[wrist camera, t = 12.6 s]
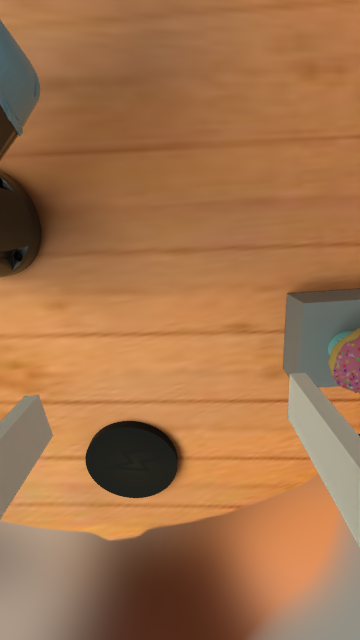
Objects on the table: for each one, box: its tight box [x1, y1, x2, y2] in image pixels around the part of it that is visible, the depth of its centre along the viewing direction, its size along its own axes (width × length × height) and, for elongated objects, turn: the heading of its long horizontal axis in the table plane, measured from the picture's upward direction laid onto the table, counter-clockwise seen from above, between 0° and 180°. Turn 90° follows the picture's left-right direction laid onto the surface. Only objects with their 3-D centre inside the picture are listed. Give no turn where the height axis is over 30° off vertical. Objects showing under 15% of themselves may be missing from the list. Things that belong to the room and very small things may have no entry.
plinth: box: [283, 288, 360, 387], centre depth 38 cm, size 13×13×6 cm
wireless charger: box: [86, 421, 177, 498], centre depth 50 cm, size 18×18×2 cm
